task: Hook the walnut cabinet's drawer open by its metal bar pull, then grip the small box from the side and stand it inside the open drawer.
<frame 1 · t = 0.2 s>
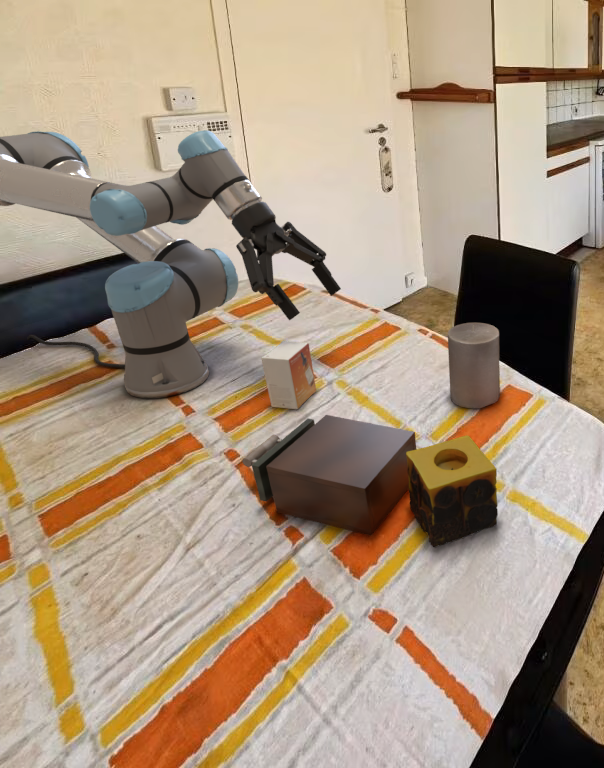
hand: (316, 304, 123), 16 cm above the table, tool tilted 35°, fingers open, 13 cm apart
grey upright cylinder: (475, 397, 122), on the table
drawer: (311, 463, 95), point 4 cm above the table, slide at 2.0 cm
cabinet: (350, 493, 95), on the table
small box: (294, 399, 121), on the table
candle: (452, 517, 91), on the table
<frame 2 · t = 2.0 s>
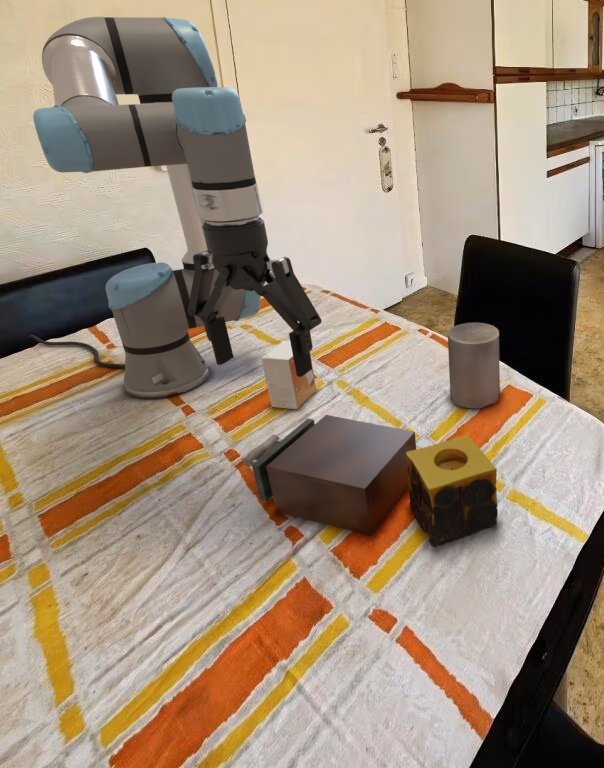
hand: (264, 366, 90), 19 cm above the table, tool pointing down, fingers open, 13 cm apart
nothing on the table moved.
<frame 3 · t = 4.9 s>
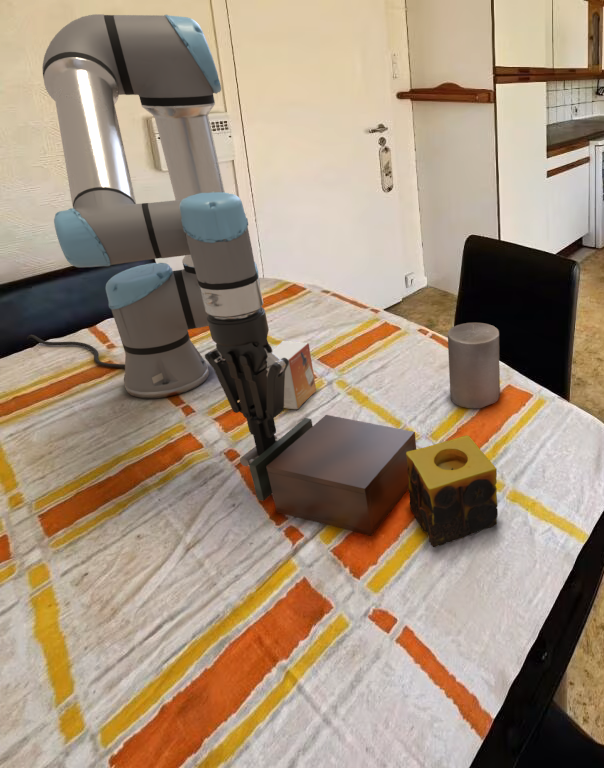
hand: (267, 451, 97), 5 cm above the table, tool pointing down, fingers closed
drawer: (308, 462, 95), point 4 cm above the table, slide at 2.5 cm
everything else where it was.
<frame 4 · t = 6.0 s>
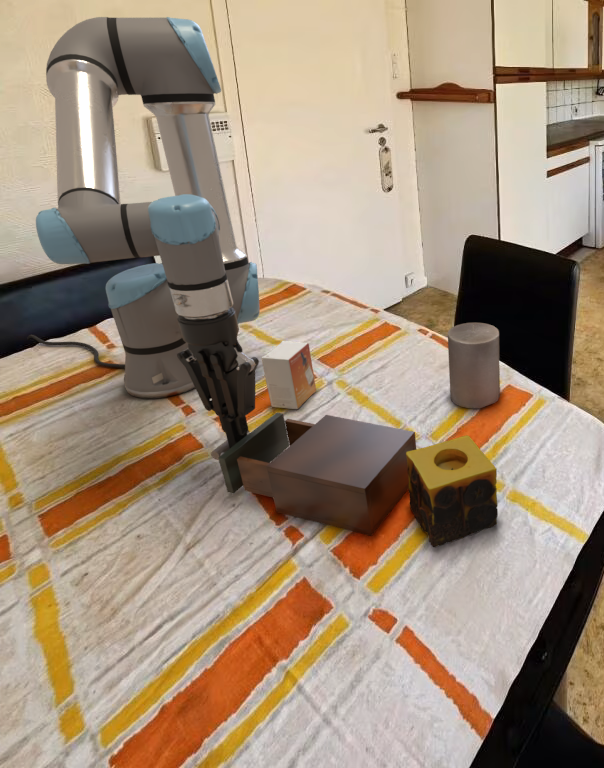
hand: (240, 448, 99), 4 cm above the table, tool pointing down, fingers closed
drawer: (278, 456, 97), point 4 cm above the table, slide at 7.9 cm, touching gripper
everything else where it was.
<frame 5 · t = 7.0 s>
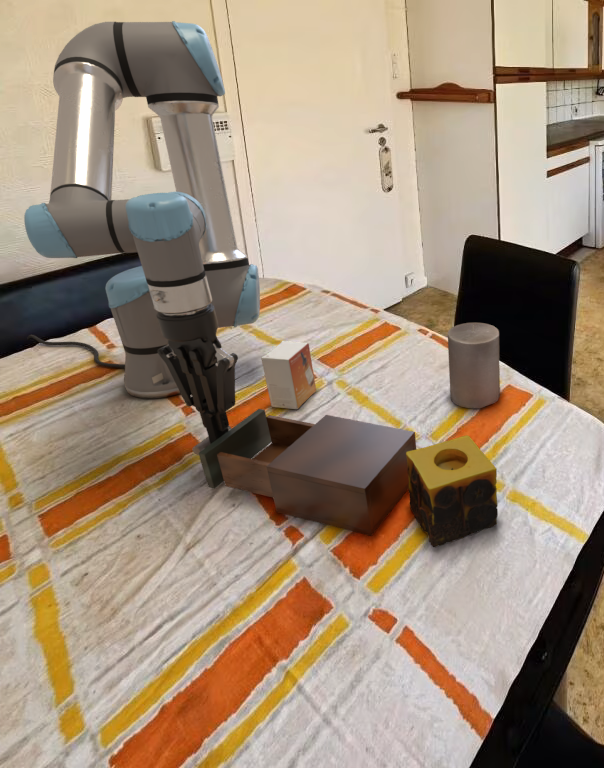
hand: (221, 444, 100), 4 cm above the table, tool pointing down, fingers closed
drawer: (259, 451, 98), point 4 cm above the table, slide at 11.5 cm, touching gripper
everything else where it was.
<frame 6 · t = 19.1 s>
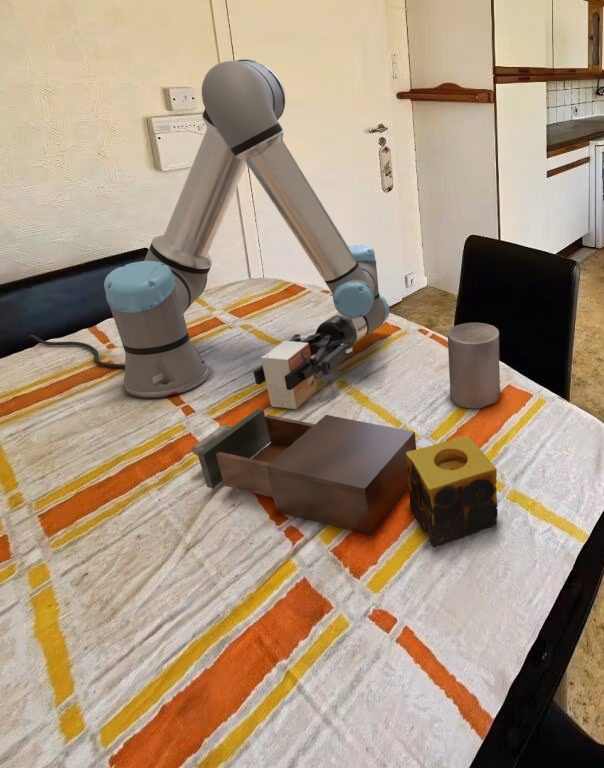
hand: (271, 380, 114), 7 cm above the table, tool horizontal, fingers closed on small box, 6 cm apart
drawer: (258, 451, 98), point 4 cm above the table, slide at 11.7 cm
small box: (294, 399, 121), on the table, touching gripper
everything else where it was.
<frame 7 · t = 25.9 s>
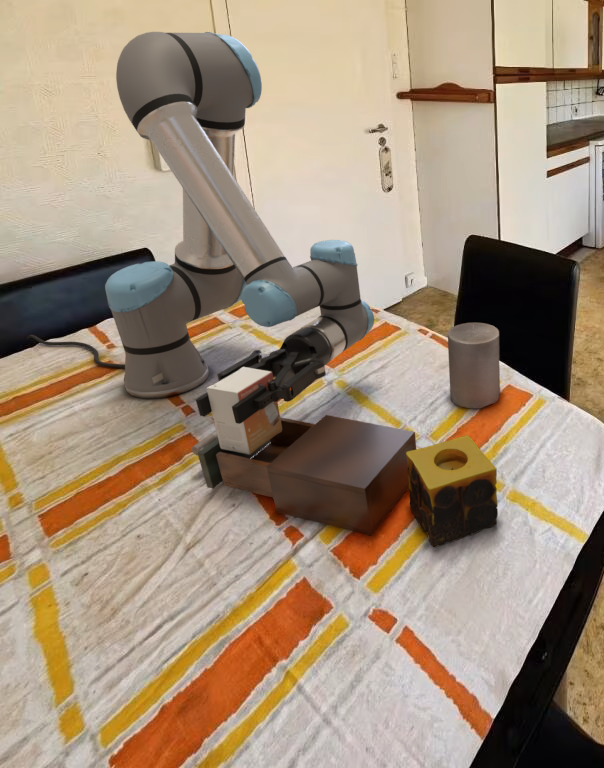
hand: (217, 411, 89), 14 cm above the table, tool horizontal, fingers closed on small box, 6 cm apart
small box: (252, 440, 97), point 6 cm above the table, touching gripper
everything else where it was.
when the fingers open (10 cm above the table, at t = 27.5 s): small box stays where it is, resting on drawer.
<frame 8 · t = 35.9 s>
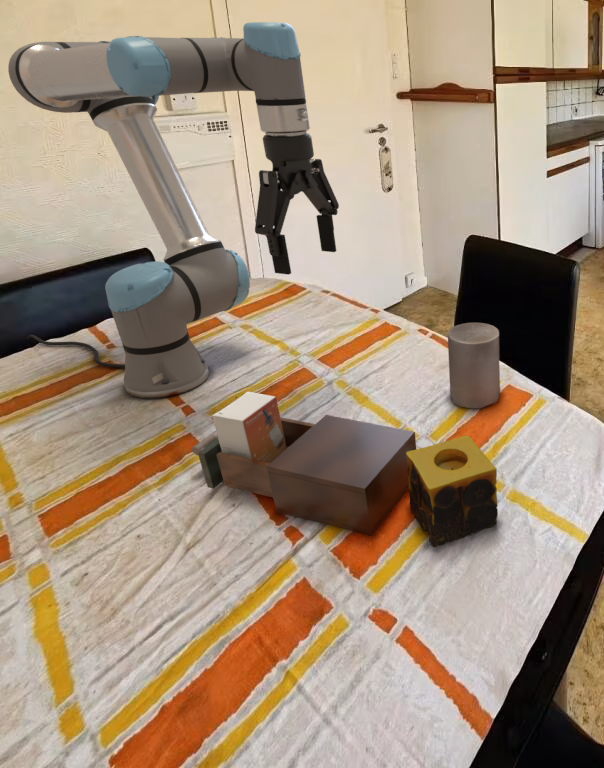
hand: (307, 261, 110), 27 cm above the table, tool pointing down, fingers open, 13 cm apart
drawer: (259, 451, 98), point 4 cm above the table, slide at 11.6 cm, touching small box
small box: (258, 463, 99), point 2 cm above the table, touching drawer
everything else where it was.
at the end: drawer slide at 11.6 cm; small box inside the target area in the drawer (1.4 cm from its centre), point 1.9 cm above the cabinet's base; small box touching drawer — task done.
